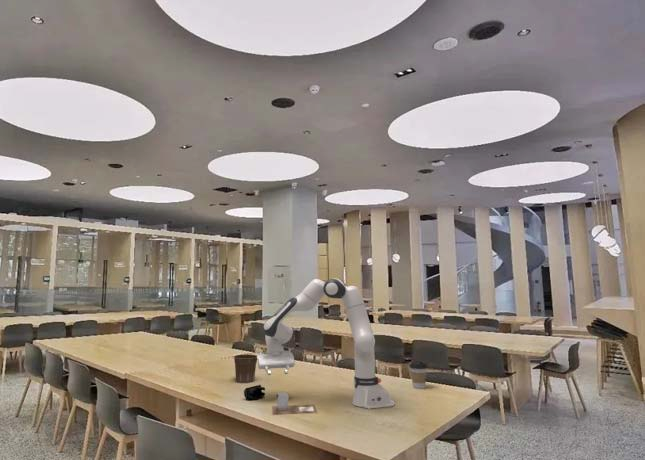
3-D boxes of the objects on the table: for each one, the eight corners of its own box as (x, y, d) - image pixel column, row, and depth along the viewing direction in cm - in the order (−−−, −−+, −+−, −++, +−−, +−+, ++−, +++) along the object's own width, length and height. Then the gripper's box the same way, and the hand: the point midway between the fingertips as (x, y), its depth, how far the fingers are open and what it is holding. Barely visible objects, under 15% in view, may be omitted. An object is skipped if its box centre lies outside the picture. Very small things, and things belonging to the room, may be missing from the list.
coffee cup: (429, 390, 243) (428, 364, 245) (410, 389, 246) (409, 364, 248) (428, 385, 254) (427, 361, 257) (409, 385, 257) (409, 360, 259)
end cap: (257, 396, 233) (257, 383, 234) (265, 398, 228) (265, 385, 229) (243, 399, 226) (243, 387, 227) (251, 402, 221) (251, 389, 222)
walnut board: (314, 407, 210) (314, 392, 211) (317, 416, 196) (317, 400, 198) (272, 409, 208) (272, 394, 209) (272, 418, 194) (272, 401, 195)
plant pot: (260, 378, 276) (260, 354, 279) (254, 384, 261) (254, 358, 263) (237, 378, 278) (237, 354, 280) (229, 383, 262) (230, 358, 264)
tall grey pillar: (286, 407, 206) (286, 392, 207) (288, 410, 201) (288, 394, 202) (276, 408, 204) (276, 392, 205) (278, 411, 199) (278, 395, 200)
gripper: (257, 349, 222) (259, 371, 211) (293, 348, 228) (297, 369, 217) (255, 356, 226) (257, 378, 215) (291, 355, 232) (295, 376, 221)
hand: (277, 374), depth 216 cm, fingers open, 8 cm apart
